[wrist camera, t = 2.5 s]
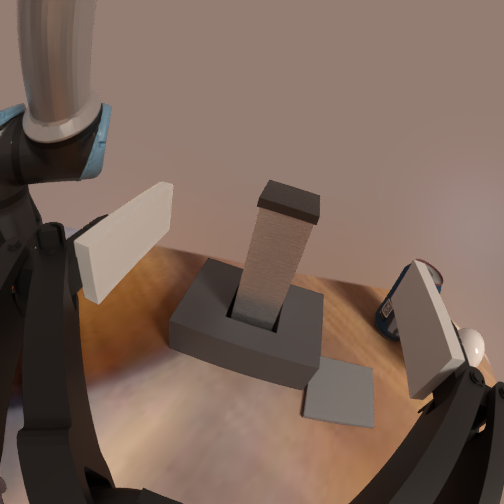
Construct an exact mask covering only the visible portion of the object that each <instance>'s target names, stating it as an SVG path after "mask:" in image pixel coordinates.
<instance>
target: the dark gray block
mask: <svg viewBox="0 0 504 504" xmlns="http://www.w3.org/2000/svg"><path fill="white" fill-rule="evenodd" d="M242 273H243V269H241V268H238V267H235V266H232V265H229V264H226V263H223V262H220V261H217V260H214V259H211V258H208V259H207V261H206V262H205V264H204V265H203V267H202V268H201V270H200V272H199V273H198V275H197V276H196V278H195V279H194V281H193V282H192V284H191V286H190V287H189V289H188V290H187V292H186V294H185V295H184V297H183V298H182V300H181V302H180V303H179V305H178V306H177V308H176V310H175V311H174V313H173V314H172V316H171V318H170V319H169V348H172V349H174V350H177V351H179V352H182V353H184V354H187V355H189V356H192V357H195V358H197V359H200V360H203V361H206V362H208V363H211V364H214V365H217V366H220V367H223V368H226V369H229V370H232V371H235V372H238V373H241V374H244V375H248V376H251V377H254V378H258V379H261V380H264V381H268V382H272V383H275V384H279V385H283V386H287V387H290V388H294V389H299V390H303V389H304V387H305V386H306V385H307V384H308V382H309V381H310V380H311V379H312V377H313V376H314V375H315V373H316V372H317V371H318V369H319V366H320V354H321V339H322V322H323V298H324V294H321V293H317V292H314V291H311V290H308V289H304V288H301V287H298V286H295V285H292V284H290V287H289V289H288V292H287V294H286V296H285V299H284V301H283V304H282V306H281V308H280V311H279V313H278V316H277V318H276V320H275V323H274V325H273V328H272V332H271V331H268V330H265V329H261V328H258V327H255V326H252V325H249V324H246V323H243V322H240V321H237V320H234V319H231V318H229V317H230V314H231V312H232V311H233V308H234V304H235V300H236V296H237V292H238V288H239V284H240V280H241V277H242Z"/></svg>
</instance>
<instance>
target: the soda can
mask: <svg viewBox="0 0 504 504" xmlns="http://www.w3.org/2000/svg"><path fill="white" fill-rule="evenodd" d="M415 260H417V261H419V262H422V263H425V265H426V267H427V269H428V271H429V273H430V275H431V277H432V279H433V281H434V284H435V286H436V288H437V290H438V292H439V294H440V291H441V285H442V284H443V277H442V276H441V274H440V273H439V271H437V269H436V268H434V267H433V266H432V265H431V264H429V263H427V262H425V261H424V260H420V259H415ZM412 262H413V261H412ZM411 264H412V263H411ZM411 264H409V265H407V266H406V267H405V268H404V269H403V271H402V273H401V274H400V276H399V278H398V279H397V281H396V283H395V284H394V286H393V287H392V289H391V290H390V292H389V293H388V295H387V297H386V298H385V300H384V301H383V303H382V304H381V306H380V307H379V309H378V310H377V312H376V317H375V324H376V327H377V329H378V331H379V332H380V334H381V335H383V336H384V337H385V338H387V339H389V340H392V341H398V340H400V336H399V331H398V326H397V322H396V318H395V313H394V309H393V305H392V301H391V297H392V296H393V294H394V292H395V291H396V289H397V287H398V286H399V284H400V282H401V281H402V279H403V277H404V276H405V274H406V272H407V271H408V269H409V267H410V265H411Z"/></svg>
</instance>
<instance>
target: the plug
mask: <svg viewBox="0 0 504 504" xmlns="http://www.w3.org/2000/svg"><path fill="white" fill-rule="evenodd" d="M257 207H259V212H258V215H257V219H256V223H255V226H254V230H253V234H252V238H251V242H250V246H249V250H248V253H247V257H246V261H245V265H244V269H243V273H242V277H241V280H240V284H239V288H238V292H237V296H236V300H235V304H234V308H233V311H232V315H231V319H234V320H237V321H240V322H243V323H246V324H249V325H252V326H255V327H258V328H261V329H265V330H268V331H271V330H272V327H273V325H274V323H275V320H276V318H277V316H278V313H279V311H280V308H281V306H282V304H283V301H284V299H285V296H286V294H287V292H288V289H289V287H290V284H291V282H292V279H293V277H294V274H295V272H296V269H297V267H298V264H299V262H300V259H301V257H302V254H303V251H304V249H305V246H306V243H307V241H308V238H309V236H310V233H311V230H312V228H313V225H317V222H318V219H319V216H320V195H317V194H314V193H310V192H307V191H304V190H301V189H298V188H295V187H291V186H289V185H285V184H282V183H279V182H275V181H272V180H269V182H268V183H267V185H266V187H265V188H264V190H263V192H262V194H261V195H260V197H259V201H258V204H257Z"/></svg>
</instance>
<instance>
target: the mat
mask: <svg viewBox="0 0 504 504" xmlns="http://www.w3.org/2000/svg"><path fill="white" fill-rule="evenodd" d="M303 417H304V418H309V419H314V420H320V421H325V422H331V423H337V424H344V425H351V426H358V427H367V428H373V427H374V392H373V373H372V368H369V367H365V366H360V365H356V364H351V363H347V362H343V361H338V360H334V359H330V358H326V357H322V356H320V366H319V369H318V371H317V372H316V373H315V375H314V376H313V377H312V379H311V380H310V381H309V382H308V384H307V388H306V396H305V403H304V410H303Z"/></svg>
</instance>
